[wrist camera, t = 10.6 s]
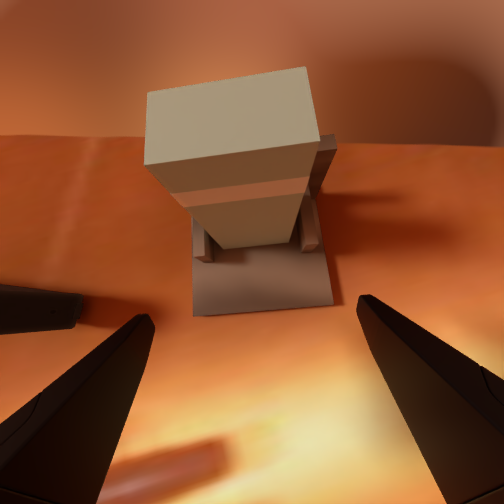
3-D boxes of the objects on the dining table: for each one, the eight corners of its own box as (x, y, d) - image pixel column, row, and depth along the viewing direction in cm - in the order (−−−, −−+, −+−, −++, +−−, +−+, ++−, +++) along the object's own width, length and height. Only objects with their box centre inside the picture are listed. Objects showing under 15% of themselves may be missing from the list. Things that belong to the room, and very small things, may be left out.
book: (288, 242, 20) (320, 141, 7) (223, 249, 20) (143, 165, 8) (284, 209, 20) (306, 66, 8) (221, 216, 21) (147, 91, 8)
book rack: (330, 304, 19) (372, 307, 11) (196, 315, 20) (149, 326, 12) (310, 186, 22) (332, 124, 14) (194, 200, 23) (155, 150, 15)
